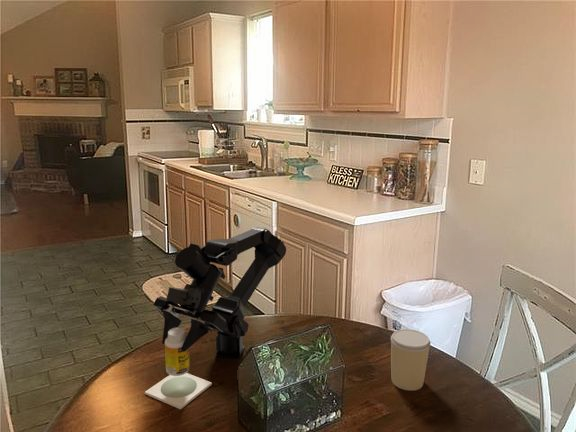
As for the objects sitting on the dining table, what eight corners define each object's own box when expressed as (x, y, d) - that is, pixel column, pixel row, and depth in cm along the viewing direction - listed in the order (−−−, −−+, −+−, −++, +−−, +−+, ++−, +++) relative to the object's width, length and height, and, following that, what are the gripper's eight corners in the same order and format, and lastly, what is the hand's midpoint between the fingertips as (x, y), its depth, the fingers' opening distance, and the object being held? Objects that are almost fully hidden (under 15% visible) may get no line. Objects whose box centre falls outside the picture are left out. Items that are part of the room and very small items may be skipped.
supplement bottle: (179, 379, 108) (177, 339, 106) (160, 372, 111) (158, 333, 108) (194, 367, 113) (193, 329, 110) (176, 361, 115) (175, 323, 113)
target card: (177, 371, 120) (177, 369, 120) (211, 384, 115) (211, 382, 115) (145, 394, 111) (144, 391, 111) (180, 409, 105) (180, 406, 105)
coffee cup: (429, 376, 119) (433, 333, 116) (423, 396, 111) (427, 350, 108) (392, 367, 123) (395, 325, 120) (383, 386, 115) (386, 341, 112)
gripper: (155, 265, 114) (123, 325, 107) (217, 280, 105) (185, 347, 98) (180, 284, 122) (151, 341, 116) (238, 300, 113) (211, 363, 107)
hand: (173, 347), depth 109 cm, fingers closed on supplement bottle, 5 cm apart
